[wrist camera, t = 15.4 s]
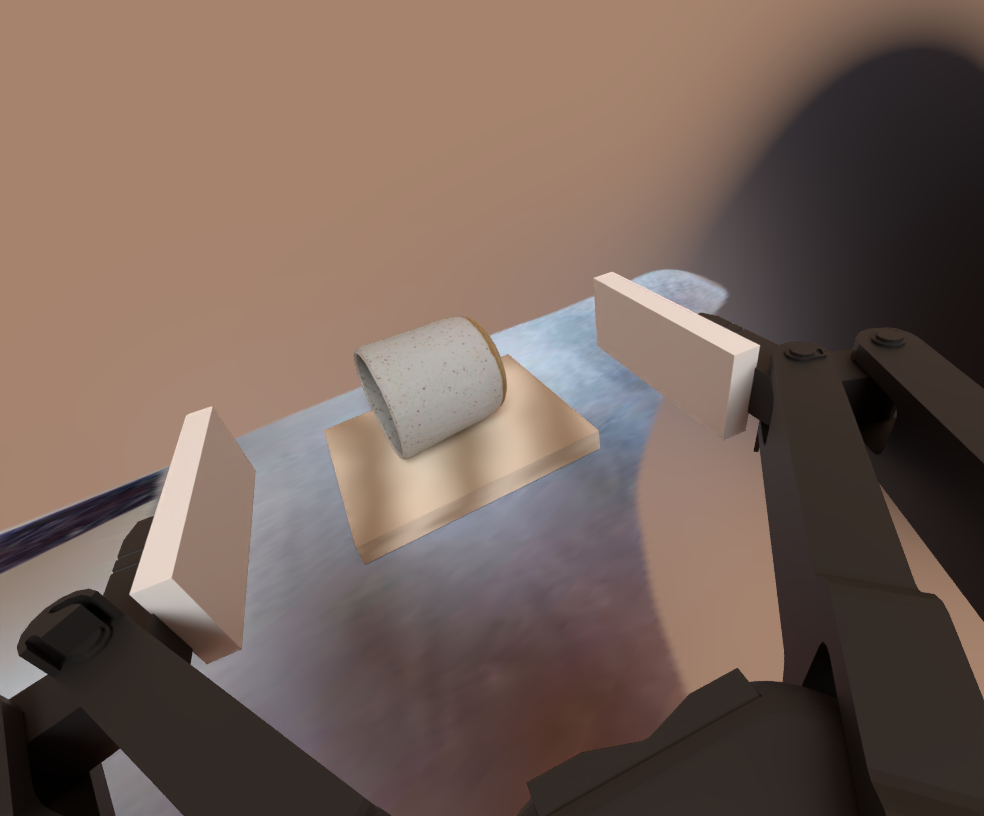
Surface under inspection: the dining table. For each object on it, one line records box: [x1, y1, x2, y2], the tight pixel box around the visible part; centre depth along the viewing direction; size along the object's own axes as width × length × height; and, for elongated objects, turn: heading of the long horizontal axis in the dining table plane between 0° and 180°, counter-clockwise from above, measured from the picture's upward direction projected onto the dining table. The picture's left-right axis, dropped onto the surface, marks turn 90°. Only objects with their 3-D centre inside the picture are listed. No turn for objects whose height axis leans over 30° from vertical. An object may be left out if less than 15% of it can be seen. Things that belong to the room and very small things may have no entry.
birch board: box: [324, 354, 600, 564], centre depth 33 cm, size 16×13×2 cm
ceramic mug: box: [354, 317, 507, 459], centre depth 33 cm, size 11×8×8 cm
